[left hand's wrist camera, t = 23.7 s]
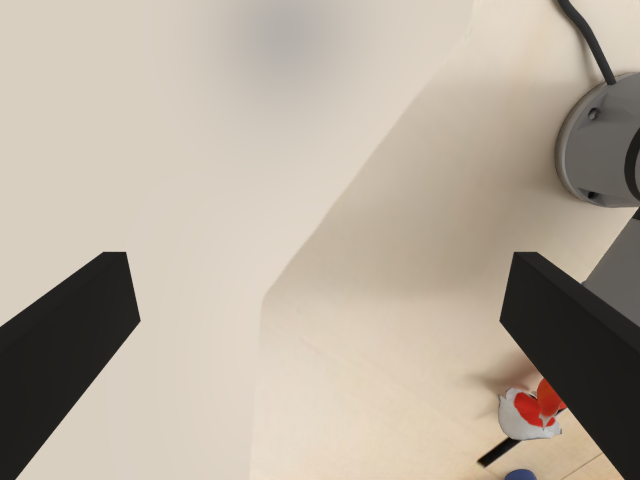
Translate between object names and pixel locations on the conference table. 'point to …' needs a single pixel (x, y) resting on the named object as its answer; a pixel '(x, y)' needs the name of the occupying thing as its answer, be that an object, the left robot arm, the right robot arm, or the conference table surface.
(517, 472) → the canister
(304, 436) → the conference table surface
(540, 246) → the conference table surface
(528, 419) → the fish
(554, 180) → the conference table surface
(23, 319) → the left robot arm
